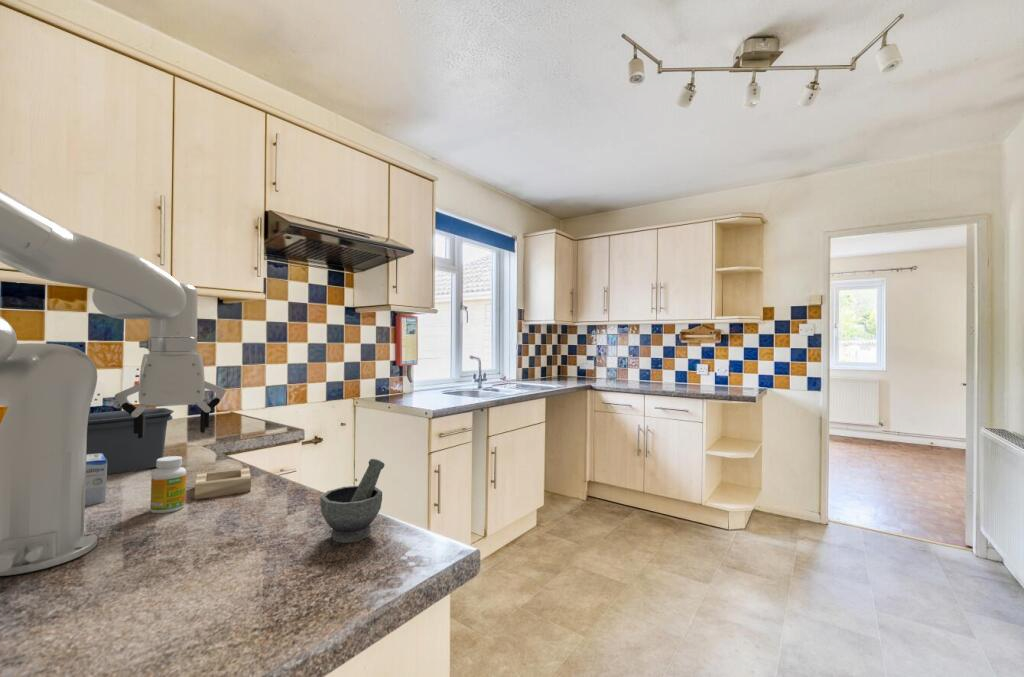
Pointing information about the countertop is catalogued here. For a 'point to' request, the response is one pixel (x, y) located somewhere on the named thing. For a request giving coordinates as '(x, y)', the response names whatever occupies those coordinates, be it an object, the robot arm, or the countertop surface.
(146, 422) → the storage bin
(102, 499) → the medicine box
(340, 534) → the mortar and pestle
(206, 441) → the countertop surface
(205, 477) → the holder block
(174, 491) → the supplement bottle
